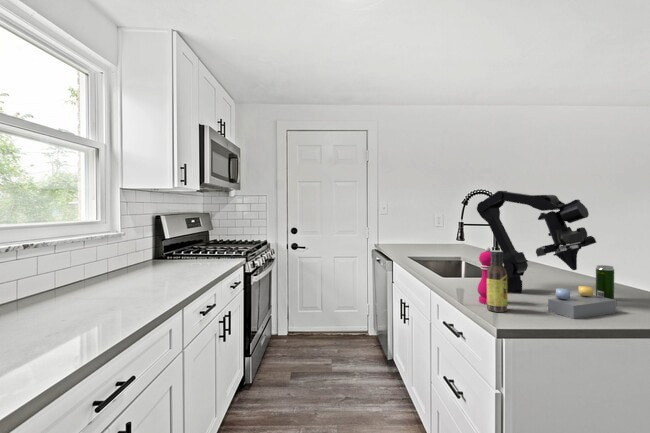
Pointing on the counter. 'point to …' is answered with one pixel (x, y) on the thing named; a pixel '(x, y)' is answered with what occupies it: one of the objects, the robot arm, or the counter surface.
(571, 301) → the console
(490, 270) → the sauce bottle
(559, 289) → the blue button
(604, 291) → the beer can
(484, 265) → the pepper mill
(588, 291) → the amber button
